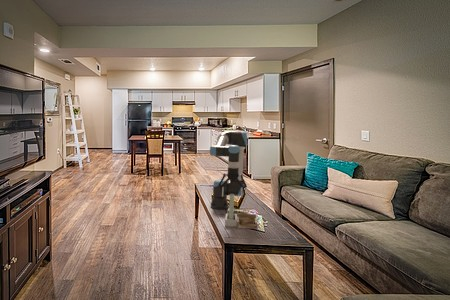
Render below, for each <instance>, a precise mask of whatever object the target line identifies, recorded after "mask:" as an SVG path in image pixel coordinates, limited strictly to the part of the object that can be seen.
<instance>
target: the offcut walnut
mask: <svg viewBox="0 0 450 300" xmlns="http://www.w3.org/2000/svg"><path fill="white" fill-rule="evenodd" d="M239 223H240V224H241V225H248V224H253V220H251V221H249V222H242V221H240V222H239Z"/></svg>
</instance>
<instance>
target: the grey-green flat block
mask: <svg viewBox="0 0 450 300" xmlns="http://www.w3.org/2000/svg"><path fill="white" fill-rule="evenodd" d="M228 205H229V206H228V211H229V213H228V214H229V219H232V220H233V214H235V213H234V210H235V209H234V208H235V207H234V206H235V196H234V194H230V195H229V203H228Z"/></svg>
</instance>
